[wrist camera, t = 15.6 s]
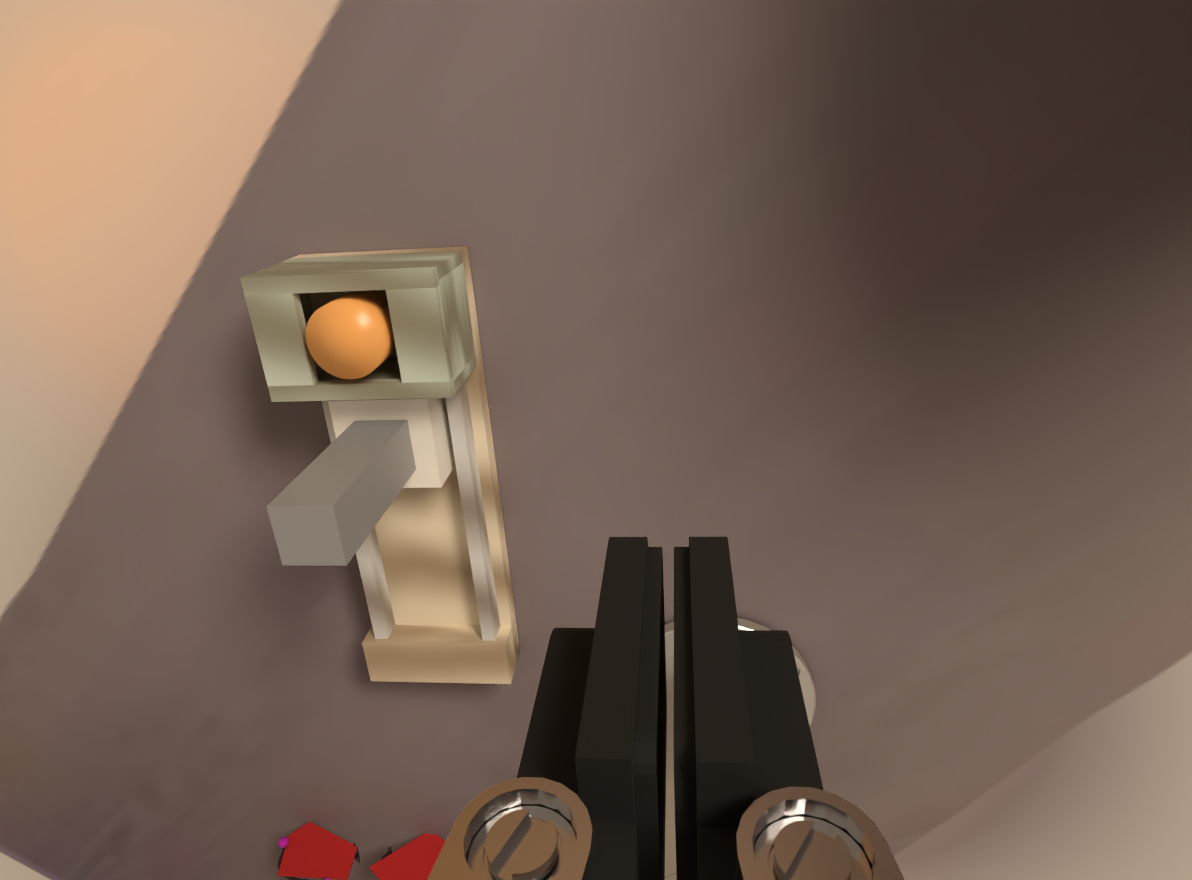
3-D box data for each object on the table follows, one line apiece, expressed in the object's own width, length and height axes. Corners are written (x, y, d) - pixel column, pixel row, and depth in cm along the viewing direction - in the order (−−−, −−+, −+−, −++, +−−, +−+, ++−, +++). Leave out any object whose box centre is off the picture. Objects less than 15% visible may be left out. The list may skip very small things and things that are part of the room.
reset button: (410, 358, 37) (388, 378, 34) (341, 360, 37) (314, 380, 35) (397, 286, 36) (374, 301, 33) (326, 289, 36) (297, 304, 33)
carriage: (454, 465, 41) (379, 588, 31) (365, 467, 42) (261, 587, 31) (441, 381, 39) (356, 481, 29) (348, 383, 40) (231, 482, 29)
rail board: (519, 651, 48) (500, 720, 43) (387, 649, 49) (351, 716, 44) (467, 246, 38) (432, 269, 32) (301, 254, 39) (240, 277, 34)
